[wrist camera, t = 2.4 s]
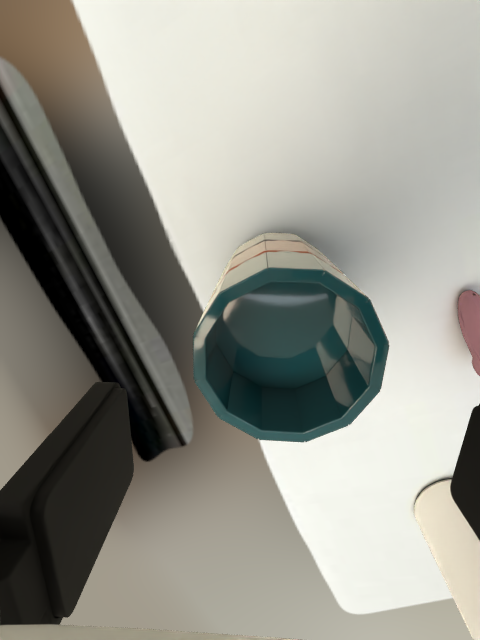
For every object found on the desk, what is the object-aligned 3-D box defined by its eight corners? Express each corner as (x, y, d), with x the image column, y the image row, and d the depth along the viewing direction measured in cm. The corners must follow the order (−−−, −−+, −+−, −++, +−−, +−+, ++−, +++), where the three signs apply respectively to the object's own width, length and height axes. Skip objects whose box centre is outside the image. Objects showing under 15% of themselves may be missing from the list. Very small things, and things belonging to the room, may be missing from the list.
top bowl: (211, 243, 17) (190, 264, 12) (360, 248, 17) (404, 272, 12) (211, 373, 19) (194, 436, 14) (341, 379, 19) (370, 446, 14)
